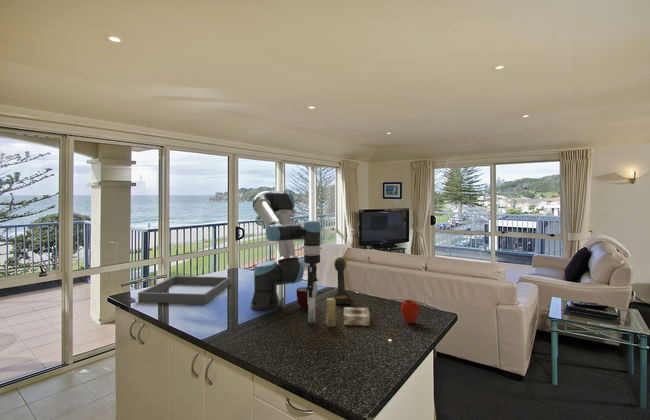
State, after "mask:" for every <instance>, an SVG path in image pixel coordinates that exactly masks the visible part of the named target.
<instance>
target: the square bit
mask: <svg viewBox="0 0 650 420" xmlns="http://www.w3.org/2000/svg"><path fill="white" fill-rule="evenodd" d="M335 303H336V300H335V299H334V297H327V298H326V299H325V325H326V327H327V328H333V327H334V328H335V327H336V304H335Z"/></svg>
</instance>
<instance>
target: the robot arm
mask: <svg viewBox="0 0 650 420" xmlns="http://www.w3.org/2000/svg"><path fill="white" fill-rule="evenodd" d="M295 206H296V204H295V198H294V195H293V194H292V193H291V192H290V191H284V190H281V191H280V190H279V191H277V190H275V191H270V190H268V191H267V190H266V191H260V192H259V193H258V194H256V196H255V197H253V201H252V208H253V211H254V212H255V213H256V214H258V215H259V217H260V219H261V220H262V221H263V222H262V223H263V224H264V225H265V227H266V228H265V236H266V239H267V240H268V241H269V242H278V250H279V258H278V260H277V261H275V260H266V261H261V262H259V263H257V264H255V266H254V270H253V271H254V272H253V275H254V276H253V277H254V278H253V279H254V281H253V282H254V283H253V285H254V292H253V295H252V299H251V302H250V307H251V308H252V309H253V310H255V311H256V310H257V311H271V310H275V309H277V308H279V307H280V305H281V304H280V302H281V301H280V298H279V294H278V292H277V286H282V285H290V284H292V285H293V284H298V283H300V282H301V281H302V280H303V277H304V272H305V271H304V270H305V267H304V264H308V266H307V286H306V287H307V288H306V290H308V304H314V296H317V282H319V279H318V277H317V275H318V274H317V270H318V269H317V267H318V266H317V264H320V263H321V255H320V254H321V250H322V246H321V230H322V229H321V222H320V221H318V220H306V221H304V223H297V224H295V223H293V224H292V221H291V215H292V213H293V211H294V210H295ZM296 240H303V253H304V256H303V262H304V264H303V262H302V261H300V260H299V257H298V256H297V255H296V251H295V250H296V249H295V243H294V241H296Z"/></svg>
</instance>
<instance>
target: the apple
mask: <svg viewBox="0 0 650 420" xmlns="http://www.w3.org/2000/svg"><path fill="white" fill-rule="evenodd" d="M400 313H401V315H402V317H403V318H404V320H405V322H406V323H408V324H413V323H414V322H415V321H416V320H417V318H418V316H419V314H420V307H419V305H418V303H417V301H415V300H411V299H405V300H404V301H403V302H402V303H401V306H400Z"/></svg>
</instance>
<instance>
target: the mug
mask: <svg viewBox="0 0 650 420" xmlns="http://www.w3.org/2000/svg"><path fill="white" fill-rule="evenodd" d="M306 288H307V286H300V287H297V288H296V299H297V304H298V307H299V308H300V309H301V310H308V290H306Z"/></svg>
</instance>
